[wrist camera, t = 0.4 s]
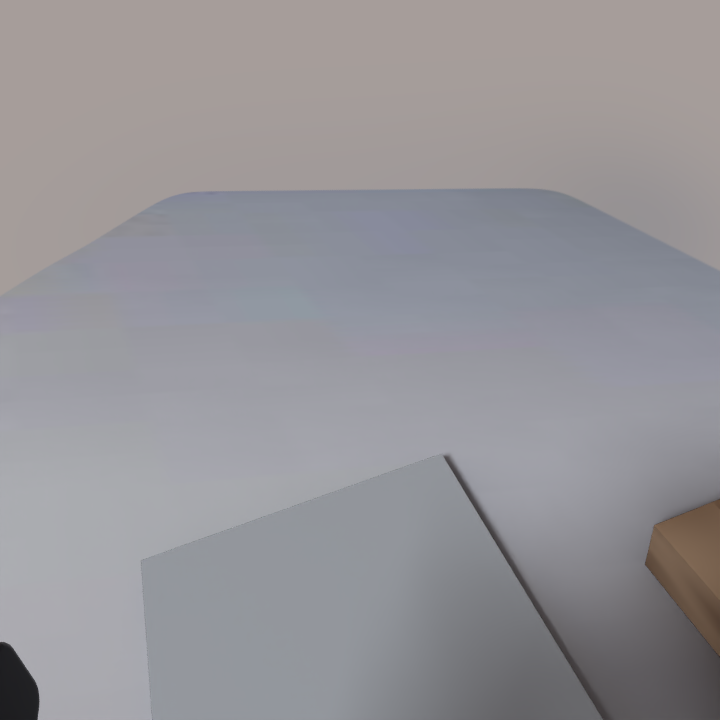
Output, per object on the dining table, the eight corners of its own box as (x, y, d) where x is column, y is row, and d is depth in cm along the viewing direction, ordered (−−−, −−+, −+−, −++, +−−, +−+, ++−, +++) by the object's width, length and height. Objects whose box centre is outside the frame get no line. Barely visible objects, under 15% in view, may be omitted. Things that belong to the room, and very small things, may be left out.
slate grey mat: (630, 780, 20) (633, 770, 19) (180, 991, 18) (170, 986, 17) (442, 464, 31) (441, 453, 30) (147, 570, 28) (140, 560, 28)
